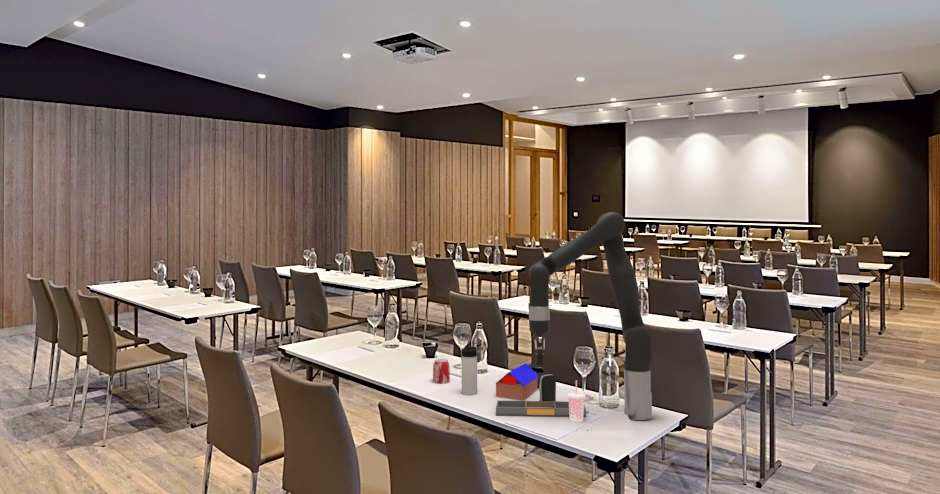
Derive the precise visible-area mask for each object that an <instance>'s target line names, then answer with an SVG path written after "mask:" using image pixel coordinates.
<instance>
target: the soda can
mask: <svg viewBox="0 0 940 494" xmlns="http://www.w3.org/2000/svg"><path fill="white" fill-rule="evenodd" d="M432 367H433V369H432V379H433V381H432V382H433V384H437V385H445V384H449V383H450V382H451V380H450V379H451V378H450V376H451V375H450V374H451V373H450V372H451V371H450V362H449V360H448V359H446V358H445V359H442V358H441V359H434V362H433V365H432Z"/></svg>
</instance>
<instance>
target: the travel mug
mask: <svg viewBox="0 0 940 494" xmlns="http://www.w3.org/2000/svg"><path fill="white" fill-rule="evenodd" d="M461 394H462V395H464V396H475V395H476V396H477V395H478V348H477V347H476V346H469V347H468V346H467V347H464V348H462V349H461Z"/></svg>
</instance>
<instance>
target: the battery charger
mask: <svg viewBox="0 0 940 494" xmlns="http://www.w3.org/2000/svg"><path fill="white" fill-rule="evenodd" d="M556 381H557V378H556V376H555V375H554V374H551V373H546V374H541V375H540V374H539V377H538V381H537V388H538V389H539V400H538V401H556V400H557V399H556V393H557V382H556ZM538 389H537V390H538Z"/></svg>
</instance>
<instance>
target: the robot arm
mask: <svg viewBox="0 0 940 494" xmlns="http://www.w3.org/2000/svg"><path fill="white" fill-rule="evenodd" d="M625 226H626V223H625V219H624V217H623V216H622V215H621V214H620V213H618V212H615V211H609V212H605V213H603V214H601V215H600V216H599V217H598V219H597V221H596V223H595V224H594V225H593V226H591V227H590V228H589V229H588V230H586V231H585V232H584V233H582V234H580V235H579V236H577V237H575V238H573V239H571V240H570V241H568V242H566V243H565V244H563V245H561V246H560V247H558V248H557V249H556V250H554V251H553V252H552V253H550V254H549V255H547V256H546V257H544V258H543V259H540V260H539V261H537V262H535V263H534V264H533V265H531V266H530V268H529V270H528V277H529V287H530V291H529V296H528V297H529V298H528V299H529V309H528V329H529V332H530V333H535V335H534V337H533V338H534V339H533V341H534V349H535V350H536V351H535V353H536V354H535V355H536V364H537V366H543V365H544V354H545V351H544V350H545V348H546V347H545V345H546V344H545V342H546V336H545V335H544V333H549V332H550V330H551V322H550V321H551V316H550V312H551V311H550V301H549V300H550V297H549V283H550V277H551V276H553V275H554V274H555V273H556V272H559V271H561V270H563V269H565V268H566V267H568V266H569V265H571V264H572V263H574V262H575V261H576V260H578V259H579V258H581V257H583V255H584V254H586V253H588V252H589V251H590V250H592V249H594V248H595V247H597V246H598V245H600V244H601V243H602V246H603V249H604V250H603V251H604V254H605V260H606V268H607V273H608V278H609V281H610V286H611V291H612V293H613V294H612V295H613V297H614V301H615V304H616V306H617V310H618V313H619V316H620V321H621V322H620V323H621V330H622V339H623V342H624V344H625V345H624V347H625V349H624V350H625V353H624V354H625V355H624V362H623V367H624V368H623V370H624V371H623V375H624V377H623V379H624V380H623V386H624V387H623V388H624V389H623V391H624V395H623V398H624V401H623V402H624V404H623V405H624V408H623V409H624V411H623V412H624V414H625V415H626V416H627V417H628V418H629V420H632V421H633V420H634V421H645V420H653V401H652V399H653V394H652V393H653V392H652V391H651V364H652V355H653V354H652V353H653V351H652V349H653V345H652V343H653V340H652V335H651V333H650V331H649V330H648V329H647V328H646V327H645V324H644V320H643V318H642V317H643V316H642V314H641V311H640V310H641V309H640V301H639V300H640V297H639V286H638V281H637V277H636V273H635V269H634V267H633V265H632V262H631V260H630V258H629V255H628V254H627V251H626V249H625V244H624V240H623V239H624V238H623V234H622V233H623V231H624V230H625Z"/></svg>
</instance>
